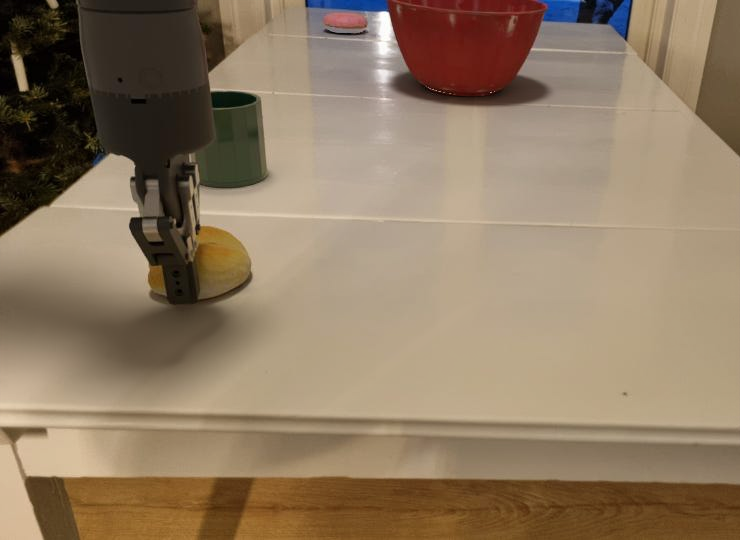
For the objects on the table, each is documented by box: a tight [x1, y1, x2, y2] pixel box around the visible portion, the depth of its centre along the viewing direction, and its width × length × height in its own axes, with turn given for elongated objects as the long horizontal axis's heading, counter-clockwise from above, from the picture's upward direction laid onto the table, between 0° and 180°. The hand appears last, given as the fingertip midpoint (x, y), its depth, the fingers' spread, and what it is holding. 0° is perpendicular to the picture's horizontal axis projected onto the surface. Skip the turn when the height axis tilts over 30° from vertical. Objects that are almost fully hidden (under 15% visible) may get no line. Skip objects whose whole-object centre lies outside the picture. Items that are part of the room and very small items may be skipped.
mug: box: [189, 90, 268, 189], centre depth 83 cm, size 12×8×9 cm
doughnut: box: [322, 11, 369, 35], centre depth 175 cm, size 11×11×4 cm
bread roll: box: [147, 225, 252, 300], centre depth 61 cm, size 8×9×4 cm
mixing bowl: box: [386, 0, 549, 97], centre depth 126 cm, size 28×28×16 cm
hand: (184, 299), depth 56 cm, fingers closed
